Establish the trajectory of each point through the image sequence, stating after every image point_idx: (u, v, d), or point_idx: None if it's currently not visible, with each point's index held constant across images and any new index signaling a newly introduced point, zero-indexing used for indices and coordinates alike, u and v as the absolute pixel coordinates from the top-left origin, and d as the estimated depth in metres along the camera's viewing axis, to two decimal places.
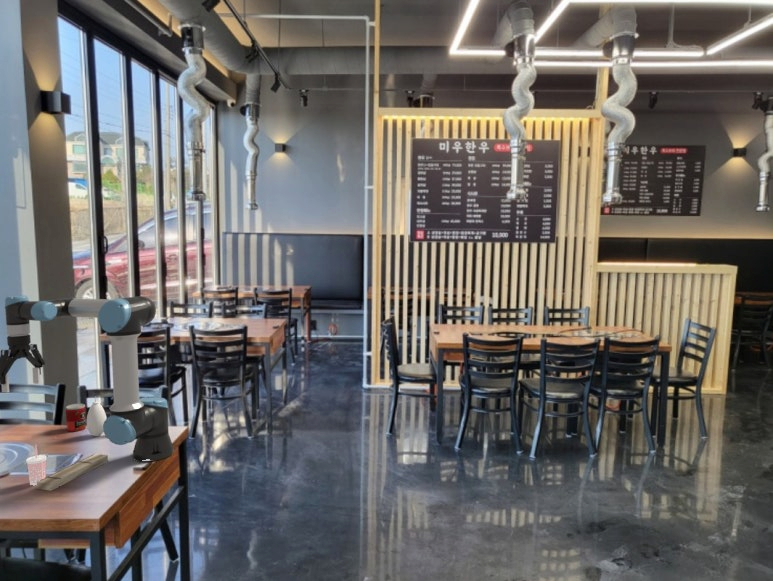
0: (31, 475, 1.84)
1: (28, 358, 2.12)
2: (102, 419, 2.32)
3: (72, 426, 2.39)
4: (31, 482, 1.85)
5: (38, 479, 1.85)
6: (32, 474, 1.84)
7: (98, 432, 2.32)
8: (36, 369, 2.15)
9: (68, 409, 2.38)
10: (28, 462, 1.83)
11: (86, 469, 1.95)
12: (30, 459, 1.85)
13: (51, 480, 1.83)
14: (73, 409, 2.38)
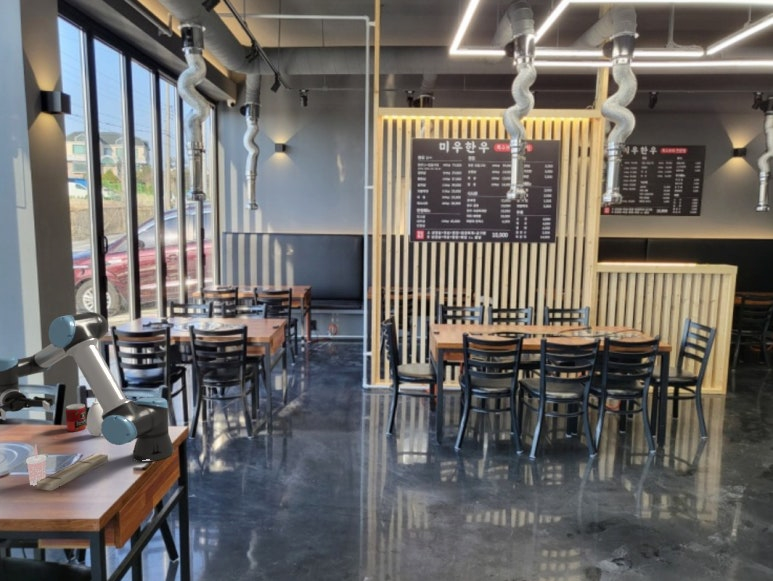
0: (31, 475, 1.84)
1: (31, 403, 2.02)
2: (102, 419, 2.32)
3: (72, 426, 2.39)
4: (31, 482, 1.85)
5: (38, 479, 1.85)
6: (32, 474, 1.84)
7: (98, 432, 2.32)
8: (43, 403, 2.00)
9: (68, 409, 2.38)
10: (28, 462, 1.83)
11: (86, 469, 1.95)
12: (30, 459, 1.85)
13: (51, 480, 1.83)
14: (73, 409, 2.38)
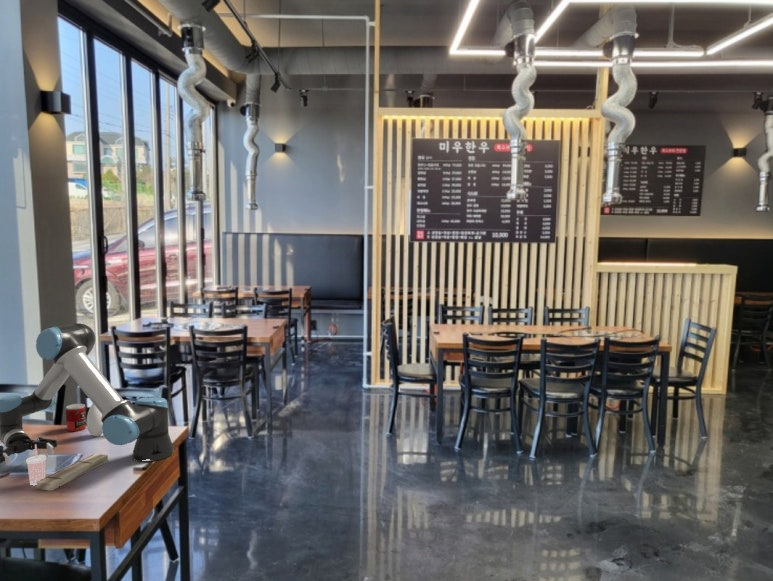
0: (31, 475, 1.84)
1: None
2: None
3: (72, 426, 2.39)
4: (31, 482, 1.85)
5: (38, 479, 1.85)
6: (32, 474, 1.84)
7: (98, 432, 2.32)
8: (47, 445, 1.99)
9: (68, 409, 2.38)
10: (28, 462, 1.83)
11: (86, 469, 1.95)
12: (30, 459, 1.85)
13: (51, 480, 1.83)
14: (73, 409, 2.38)
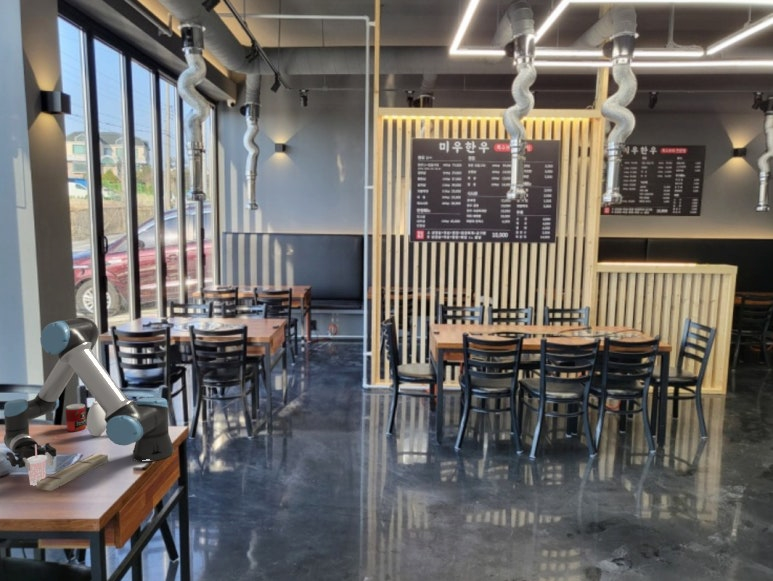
0: (31, 475, 1.84)
1: (38, 452, 1.93)
2: (102, 419, 2.32)
3: (72, 426, 2.39)
4: (31, 482, 1.85)
5: (38, 479, 1.85)
6: (32, 474, 1.84)
7: (98, 432, 2.32)
8: (45, 454, 1.89)
9: (68, 409, 2.38)
10: None
11: (86, 469, 1.95)
12: (30, 459, 1.85)
13: (51, 480, 1.83)
14: (73, 409, 2.38)
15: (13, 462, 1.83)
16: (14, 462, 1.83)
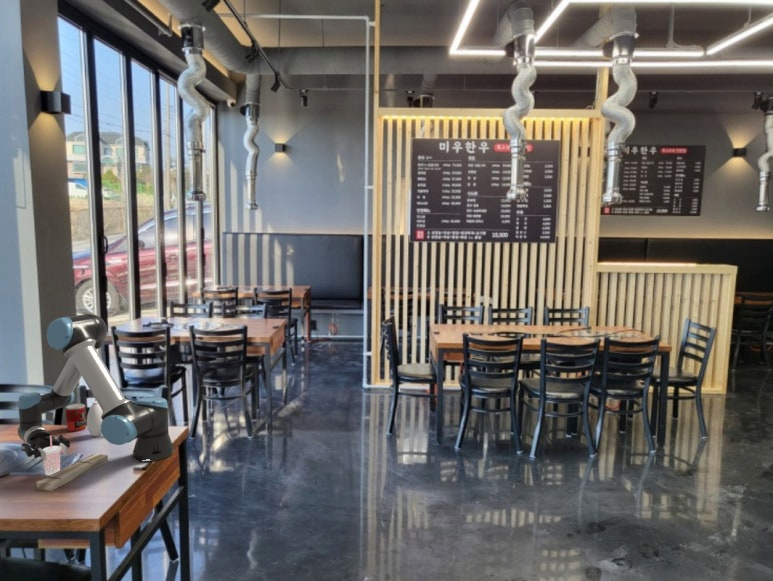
0: (46, 465, 1.91)
1: (52, 444, 1.99)
2: None
3: (72, 426, 2.39)
4: (46, 472, 1.91)
5: (53, 469, 1.91)
6: (47, 464, 1.90)
7: (98, 432, 2.32)
8: (60, 445, 1.95)
9: (68, 409, 2.38)
10: None
11: (86, 469, 1.95)
12: (45, 449, 1.92)
13: (51, 480, 1.83)
14: (73, 409, 2.38)
15: (29, 452, 1.90)
16: (30, 452, 1.90)
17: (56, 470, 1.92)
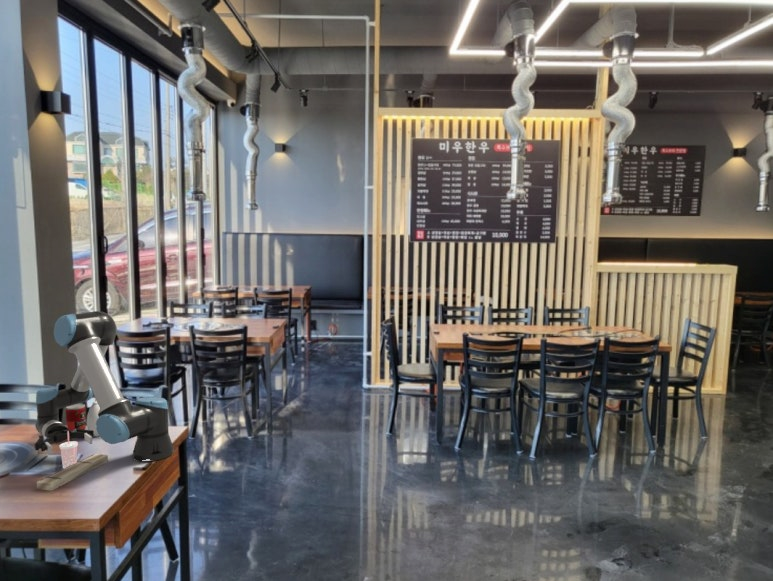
0: (64, 460, 1.98)
1: (73, 435, 2.08)
2: None
3: (72, 426, 2.39)
4: (64, 466, 1.98)
5: (70, 463, 1.98)
6: (64, 458, 1.98)
7: None
8: (84, 435, 2.06)
9: (68, 409, 2.38)
10: (61, 447, 1.97)
11: (86, 469, 1.95)
12: (63, 445, 1.99)
13: (51, 480, 1.83)
14: (73, 409, 2.38)
15: (35, 446, 1.95)
16: (36, 446, 1.95)
17: None
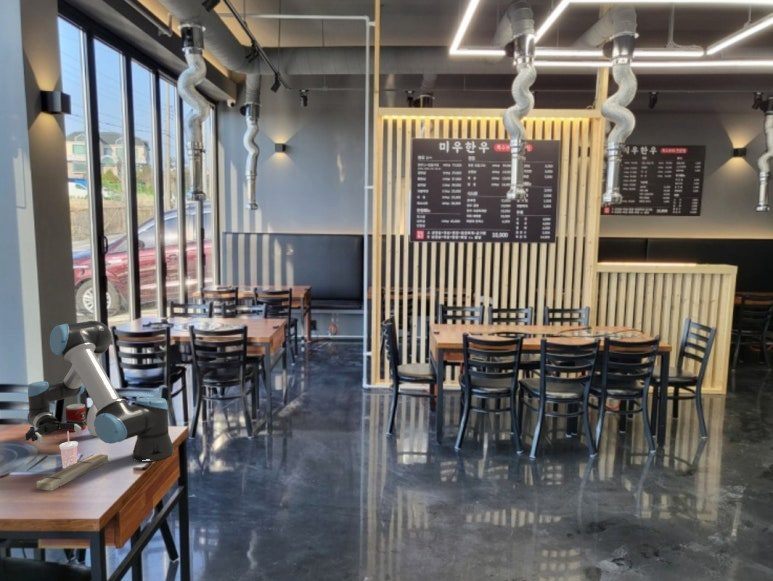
0: (64, 460, 1.98)
1: (63, 426, 2.17)
2: None
3: None
4: (64, 466, 1.98)
5: (70, 463, 1.98)
6: (64, 458, 1.98)
7: None
8: (74, 426, 2.15)
9: (68, 409, 2.38)
10: (61, 447, 1.97)
11: (86, 469, 1.95)
12: (63, 445, 1.99)
13: (51, 480, 1.83)
14: (73, 409, 2.38)
15: (26, 436, 2.04)
16: (27, 436, 2.04)
17: None
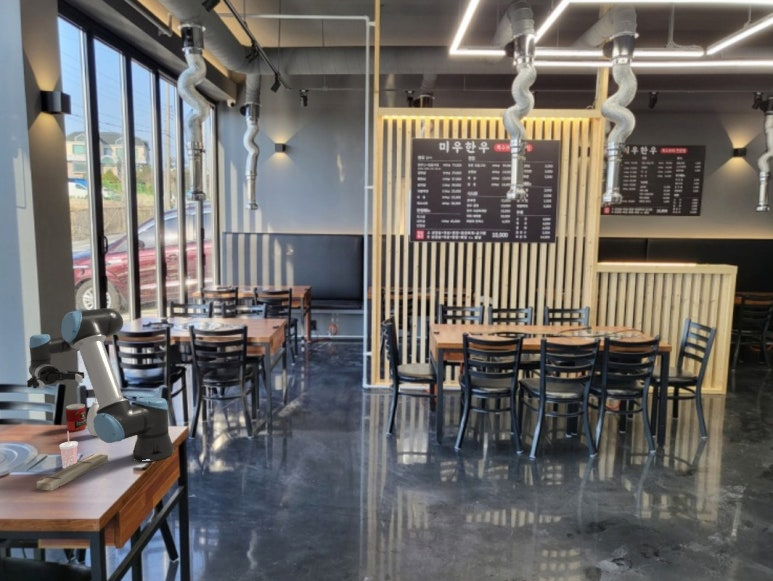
0: (64, 460, 1.98)
1: (64, 376, 2.19)
2: None
3: (72, 426, 2.39)
4: (64, 466, 1.98)
5: (70, 463, 1.98)
6: (64, 458, 1.98)
7: None
8: (75, 375, 2.17)
9: (68, 409, 2.38)
10: (61, 447, 1.97)
11: (86, 469, 1.95)
12: (63, 445, 1.99)
13: (51, 480, 1.83)
14: (73, 409, 2.38)
15: (28, 383, 2.07)
16: (28, 383, 2.07)
17: None
